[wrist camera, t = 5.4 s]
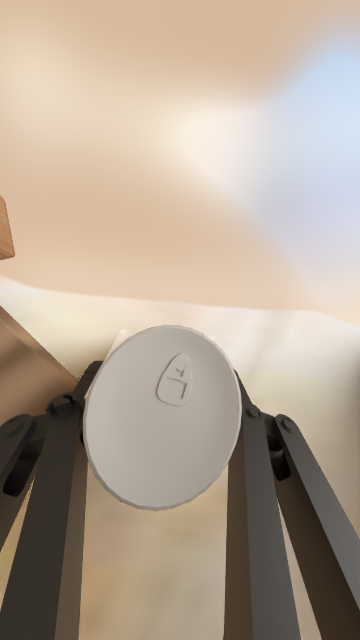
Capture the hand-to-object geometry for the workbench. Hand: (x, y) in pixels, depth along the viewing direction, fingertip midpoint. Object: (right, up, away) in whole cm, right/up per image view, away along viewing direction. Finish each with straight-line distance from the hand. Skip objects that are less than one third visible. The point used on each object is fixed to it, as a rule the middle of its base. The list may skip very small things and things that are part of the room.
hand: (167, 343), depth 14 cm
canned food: (-1, -4, +3) cm, 5 cm away
